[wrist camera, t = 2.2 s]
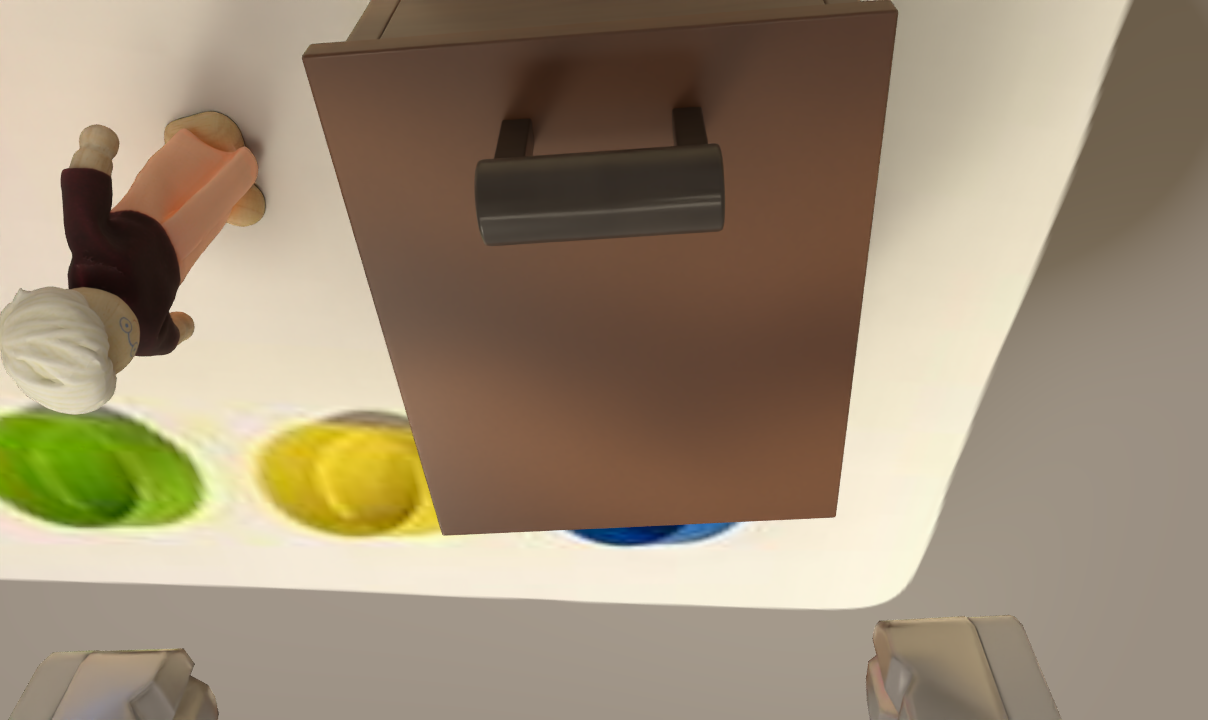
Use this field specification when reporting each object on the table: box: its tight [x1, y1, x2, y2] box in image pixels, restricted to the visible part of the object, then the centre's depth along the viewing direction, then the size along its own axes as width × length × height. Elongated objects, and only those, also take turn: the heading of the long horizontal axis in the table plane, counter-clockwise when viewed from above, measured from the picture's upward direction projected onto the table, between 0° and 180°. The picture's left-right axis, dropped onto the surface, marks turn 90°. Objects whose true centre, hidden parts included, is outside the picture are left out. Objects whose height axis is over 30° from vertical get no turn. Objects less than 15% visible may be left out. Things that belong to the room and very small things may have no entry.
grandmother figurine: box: [0, 112, 265, 414], centre depth 28 cm, size 8×4×13 cm, turn 13°
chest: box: [346, 0, 861, 41], centre depth 30 cm, size 16×13×9 cm
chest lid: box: [302, 0, 898, 535], centre depth 24 cm, size 17×13×5 cm
